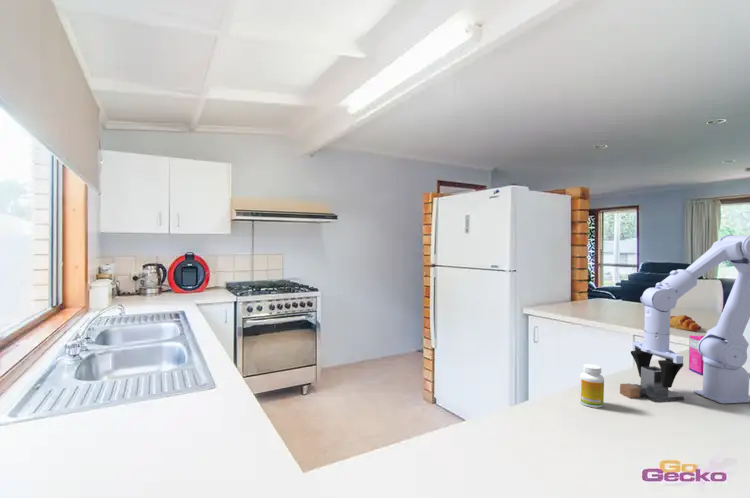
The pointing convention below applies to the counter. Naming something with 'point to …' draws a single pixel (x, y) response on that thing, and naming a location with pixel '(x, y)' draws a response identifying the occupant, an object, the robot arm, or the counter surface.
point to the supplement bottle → (591, 386)
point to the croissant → (684, 323)
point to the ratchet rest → (647, 393)
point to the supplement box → (695, 355)
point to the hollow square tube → (652, 380)
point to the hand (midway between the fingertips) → (654, 381)
